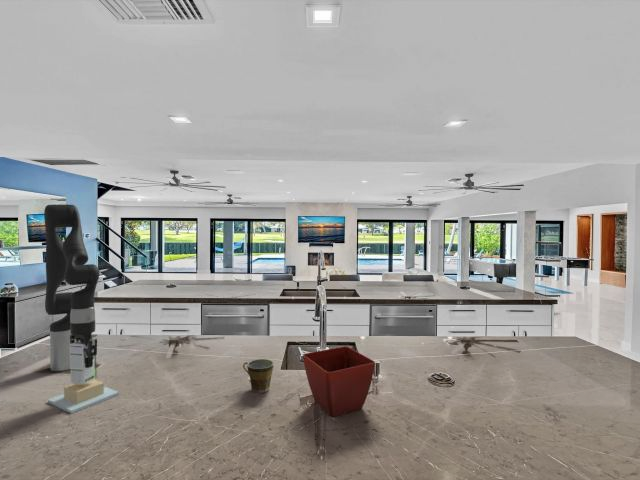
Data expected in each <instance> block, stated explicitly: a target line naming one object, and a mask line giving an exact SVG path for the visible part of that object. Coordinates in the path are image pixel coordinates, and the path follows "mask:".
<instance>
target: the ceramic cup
mask: <svg viewBox="0 0 640 480" xmlns="http://www.w3.org/2000/svg"><path fill="white" fill-rule="evenodd" d="M245 365H246V367H247V369H246V367H245ZM242 367H243V370H245V372H246V373H247V374H248V376H249V380H250V388H251V390H252V391H251V392H253V393H257V394H261V393H267V391H269V390H270V387H271V381H272V380H271V379H272V375H273V370H274V362H273V361H272V360H270V359H266V358H258V359H257V358H256V359H253V360H250V361H248V362H247V361H246V362H244V363H243V364H242Z"/></svg>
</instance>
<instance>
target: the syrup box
mask: <svg viewBox="0 0 640 480" xmlns="http://www.w3.org/2000/svg"><path fill="white" fill-rule="evenodd" d="M84 348H85V349H87V348H88V346H86V345H85V344H84V343H83V344H80V343H79V342H77V343H71V344H70V369H69V370H70V384H73V383H74V384H83V385H84V384H86V383H88V382H90V381H92V380H94V379H95V380H97V377H98V376H97V374H98V373H97V372H98V371H97V370H98V369H97V355H95V356H93V366H92V367H89V368H86V367H85V358H86V357H85V352H84V351H83V349H84ZM93 352H94V350H93ZM87 353H88V351H87Z"/></svg>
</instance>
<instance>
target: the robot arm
mask: <svg viewBox="0 0 640 480" xmlns="http://www.w3.org/2000/svg"><path fill="white" fill-rule="evenodd" d="M43 211H44V214H43V217H44V218H43V219H44V226H45V227H44V229H45V243H46V244H45V278H46V279H45V280H46V288H45V303H44V308H45V309H44V310H45V313H46V314H47V315H48V316H56V315H65V316H64V317H62V318H61V319H58V320H55V321H53V322H52V323H50V325H49V350H50V351H49V353H50V354H49V357H50V363H49V364H50V371H51V372H63V371H68V370H71V369H70V344H71V343H77V342H79V343H80V344H83V343H84V344H85V345H86V346H88V348H87V349H85V348H84V349H83V351H84V352H85V357H86V358H85V367H86V368H89V367H92V366H93V356H95V355H96V356H97V355H98V339H97V338H93V337H92V334H93V333H95V331H96V310H95V292H96V287H97V285H98V281H99V278H100V274H101V273H100V268H99V267H98V266H97V265H96V264H94V263H93V264H92V263H91V264H90V263H88V262H89V255H88V251H87V248H86V246H85V243H84V237H83V229H82V222H81V217H80V212H79V209H78V207H77V206H76V205H74V204H66V203H65V204H47V205H46V206H45V207H44V210H43ZM58 228H59V229H60V228H61V229H62V228H71V230H70V232H69V234H68V235H67V236H66V238H65V239H64V241H62V239H61V238H60V237H59V235H58V233H57V229H58ZM87 263H88V264H87ZM64 281H65V283H67V284H68V285H70V286H80V285H85V286H84V287H83V288H82V289H79V290H76V291H73V292H70V291H69V292H58V293H57V290H58V289H59V287H60V285H62V283H63V282H64ZM93 350H94V352H93ZM87 351H88V353H87Z"/></svg>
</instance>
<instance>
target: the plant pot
mask: <svg viewBox="0 0 640 480" xmlns="http://www.w3.org/2000/svg"><path fill="white" fill-rule="evenodd" d="M302 358H303V360H302V361H303V364H304V371H305V374H306V379H307V382H308V386H309V388H310V391H311V396H312V398H313V399H314V402H315V403H316V404H317V406H319V407H320V408H321V409H322V410H323V411H324V412H325V413H327V415H329V416H330V417H337V416H339V415H340V416H341V415H343V414H348V413H351V412H354V411H357V410H361V409H363V407H364V404H365V402H366V399H367V397H368V394H369V391H370V388H371V384H372V381H373V376H374V372H375V366H376V361H374V360H373V359H371V358H369V357H368V356H366V355H363V354H362V353H360V352H359V351H357V350H356V349H353V348H351V347H349V346H339V347H334V348H328V349H323V350H317V351H312V352H307V353H303V354H302Z"/></svg>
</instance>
